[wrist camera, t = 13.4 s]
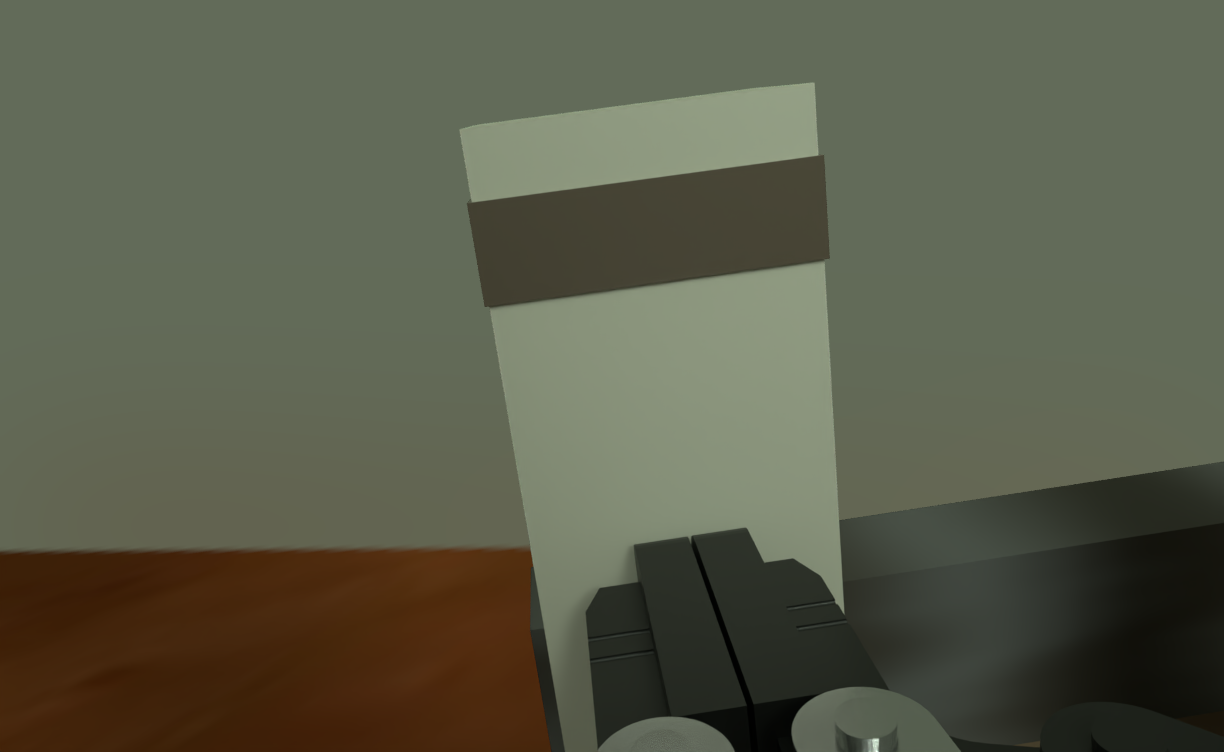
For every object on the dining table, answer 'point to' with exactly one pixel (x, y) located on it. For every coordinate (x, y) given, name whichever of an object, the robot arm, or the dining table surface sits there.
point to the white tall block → (658, 340)
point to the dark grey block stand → (1034, 604)
